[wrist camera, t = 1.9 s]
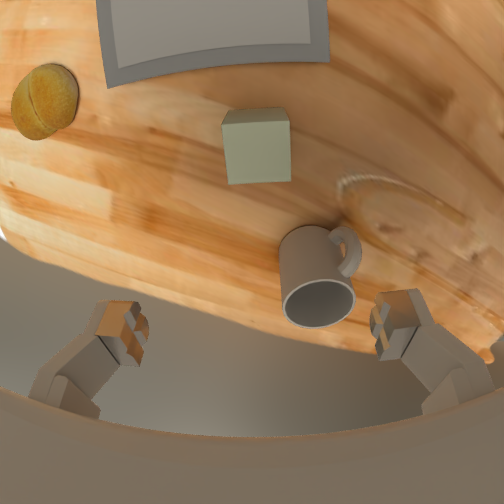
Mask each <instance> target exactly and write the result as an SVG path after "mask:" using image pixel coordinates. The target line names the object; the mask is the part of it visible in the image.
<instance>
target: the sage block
mask: <svg viewBox="0 0 504 504" xmlns="http://www.w3.org/2000/svg"><path fill="white" fill-rule="evenodd" d="M221 128H222V136H223V145H224V153H225V161H226V170H227V178H228V185H231V184H246V183H264V182H287V181H291V151H290V121H289V118H288V116H287V114H286V112H285V110H284V108H283V107H272V108H253V109H239V110H229V111H228V113H227V115H226V117H225V119H224V120H223V122H222V124H221Z"/></svg>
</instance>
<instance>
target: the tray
mask: <svg viewBox="0 0 504 504" xmlns="http://www.w3.org/2000/svg"><path fill="white" fill-rule="evenodd" d="M96 7H97V18H98V27H99V36H100V44H101V51H102V58H103V65H104V71H105V77H106V83H107V89H109V88H112V87H116V86H119V85H123V84H127V83H131V82H135V81H139V80H143V79H147V78H152V77H156V76H161V75H166V74H171V73H176V72H182V71H188V70H194V69H201V68H208V67H216V66H225V65H235V64H247V63H263V62H330V48H329V28H328V13H327V0H96Z"/></svg>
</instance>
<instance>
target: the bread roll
mask: <svg viewBox="0 0 504 504" xmlns="http://www.w3.org/2000/svg"><path fill="white" fill-rule="evenodd" d="M77 98H78V87H77V83H76V81H75V79H74V78H73V76H72V75H71V73H70V72H69V71H68V70H66V69H65V68H64V67H62V66H59V65H56V64H46V65H41V66H39V67H37V68H35V69H34V70H32V71H31V72H30V73H29V74H28V75H27V76H26V77H25V78H24V79H23V80H22V81H21V82H20V83H19V85H18V87H17V88H16V90H15V92H14V94H13V97H12V103H11V113H12V117H13V121H14V123H15V125H16V127H17V128H18V130H19V131H20V133H21V134H22V135H23V136H25V137H26V138H28V139H31V140H42V139H45V138H47V137H49V136H50V135H52V134H53V133H54V132H55V131H56V130H57V129H64V128H66V127H67V126H68V125H69V124H70V123H71V122H72V120H73V118H74V115H75V111H76V105H77Z"/></svg>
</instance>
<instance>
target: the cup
mask: <svg viewBox="0 0 504 504" xmlns="http://www.w3.org/2000/svg"><path fill="white" fill-rule="evenodd" d="M341 242H344V244H345V249H346V253H345V257H343V254H342V251H341V248H340V245H339V244H340V243H341ZM361 257H362V248H361V243H360V241H359V239H358V236H357V234H356V233H355V232H354V230H353V229H350V228H348V227H343V226H342V227H337V228H335V229H334V230H332V231H331V232H330V231H329V230H327V229H325V228H322V227H318V226H304V227H300V228H297V229H295V230H293V231H292V232H290V233H289V234H288V235H287V236H286V237H285V238H284V239H283V241H282V242H281V245H280V247H279V268H280V281H281V296H282V310H283V313H284V316H285V317H286V319H287V320H288V321H289V322H291V323H292V324H294V325H296V326H299V327H302V328H309V329H316V328H324V327H328V326H331V325H334V324H336V323H338V322H340V321H341V320H343V319H344V318H346V317H347V316H348V315H349V314H350V313H351V311H352V310H353V308H354V306H355V302H356V295H355V292H354V289H353V285H352V282H351V279H350V277H351V276H352V275H353V274H354V272H355V271H356V270H357V268H358V266H359V264H360V261H361Z"/></svg>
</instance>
